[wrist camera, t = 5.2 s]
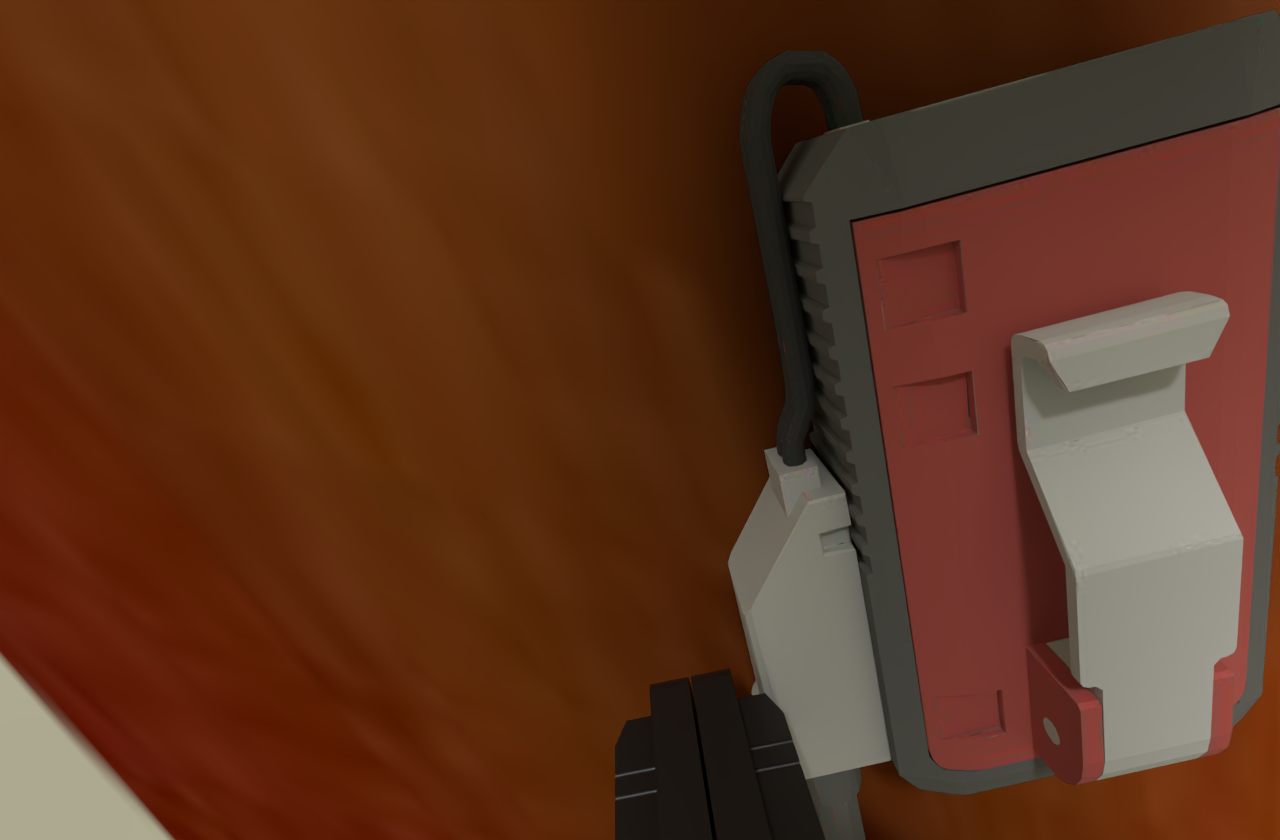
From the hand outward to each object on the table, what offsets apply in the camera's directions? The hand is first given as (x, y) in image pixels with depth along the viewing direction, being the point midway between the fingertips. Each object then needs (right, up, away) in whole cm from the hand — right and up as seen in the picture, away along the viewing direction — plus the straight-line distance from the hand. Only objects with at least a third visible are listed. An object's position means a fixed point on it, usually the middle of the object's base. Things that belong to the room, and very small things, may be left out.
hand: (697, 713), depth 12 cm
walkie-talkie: (+5, +2, +2) cm, 6 cm away
